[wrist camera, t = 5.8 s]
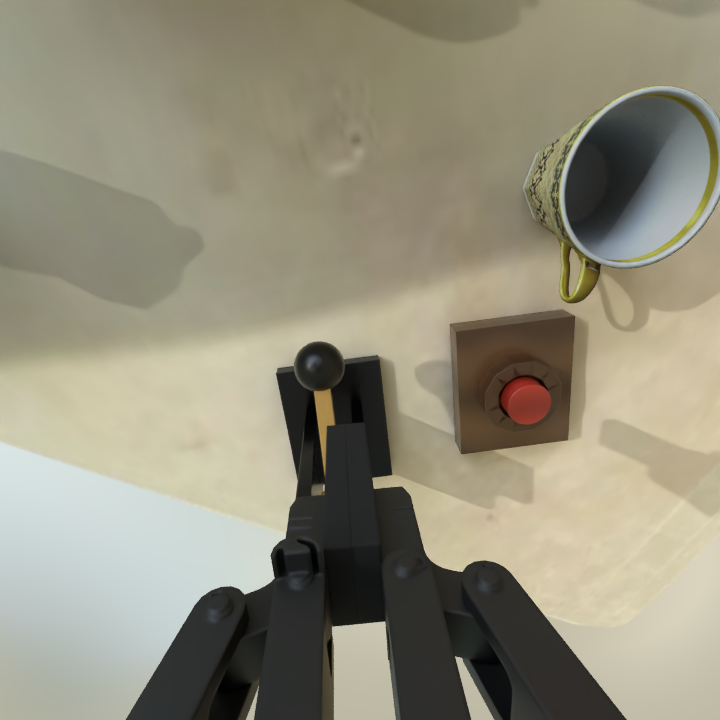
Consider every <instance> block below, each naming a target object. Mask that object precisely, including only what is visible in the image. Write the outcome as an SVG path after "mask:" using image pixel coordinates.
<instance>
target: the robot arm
mask: <svg viewBox="0 0 720 720" xmlns="http://www.w3.org/2000/svg"><path fill="white" fill-rule="evenodd" d="M288 520H289V521H288V526H287V533H286V539H284V540H282V541H280V542H279V543H278V544H277V545H276V546H275V547H274V548H273V551H272V553H271V559H272V565H273V571H274V577H275V579H274V580H273V581H272V582H271V583H269V584H268V585H266V586H265V587H263V588H261V589H259V590H257V591H254V592H251V593H248V594H246V595H244V594H243V593H242V592H241V591H240V590H239V589H237V588H234V587H220V588H217V589H214V590H212V591H210V592H208V593H207V594H206V595H204V596H203V597H201V599H200V600H199V601H198V602H197V603H196V605H195V606H194V608H193V609H192V611H191V613H190V614H189V616H188V618H187V619H186V621H185V623H184V624H183V626H182V628H181V629H180V631H179V633H178V634H177V636H176V638H175V639H174V641H173V642H172V644H171V646H170V647H169V649H168V651H167V652H166V654H165V656H164V658H163V659H162V661H161V663H160V664H159V666H158V667H157V669H156V671H155V672H154V674H153V676H152V677H151V679H150V680H149V682H148V684H147V685H146V687H145V689H144V690H143V692H142V694H141V695H140V697H139V699H138V700H137V702H136V704H135V705H134V707H133V709H132V710H131V712H130V714H129V715H128V717H127V719H126V720H246V718H247V715H248V712H249V710H250V707H251V705H252V702H253V699H254V697H255V694H256V691H257V689H258V686H259V691H258V697H257V703H256V710H255V717H254V720H334V672H333V670H334V664H333V663H334V657H333V655H334V653H333V651H334V645H333V637H332V626H343V625H353V624H363V623H373V622H383V621H385V622H386V634H387V650H388V660H389V663H390V671H391V680H392V688H393V698H394V707H395V715H396V720H471V717H470V713H469V709H468V706H467V702H466V698H465V694H464V690H463V686H462V682H461V678H460V674H459V671H458V667H457V663H456V659H455V656H457V657H461V658H462V659H463V662H464V664H465V666H466V667H467V669H468V671H469V673H470V675H471V677H472V679H473V681H474V683H475V684H476V686H477V688H478V690H479V692H480V694H481V695H482V697H483V699H484V701H485V703H486V705H487V707H488V709H489V710H490V712H491V714H492V716H493V718H494V720H626V718H625V717H624V716H623V715H622V713H621V712H620V711H619V710H618V708H617V707H616V706H615V705H614V703H613V702H612V701H611V699H610V698H609V697H608V696H607V694H606V693H605V692H604V691H603V689H602V688H601V687H600V686H599V684H598V683H597V682H596V680H595V679H594V678H593V677H592V675H590V673H589V672H588V670H587V669H586V668H585V667H584V665H583V664H582V663H581V661H580V660H579V659H578V658H577V656H576V655H575V654H574V653H573V651H572V650H571V649H570V648H569V646H568V645H567V644H566V642H565V641H564V640H563V639H562V637H561V636H560V635H559V634H558V633H557V631H556V630H555V629H554V627H553V626H552V625H551V623H550V622H549V621H548V620H547V618H546V617H545V616H544V615H543V613H542V612H541V611H540V610H539V608H538V607H537V606H536V604H535V603H534V602H533V601H532V599H531V598H530V597H529V596H528V594H527V593H526V592H525V591H524V589H523V588H522V587H521V585H520V584H519V583H518V582H517V580H516V579H515V578H514V577H513V575H512V574H511V573H510V572H509V571H508V570H507V569H506V568H504V567H503V566H501V565H499V564H497V563H495V562H490V561H477V562H473V563H471V564H470V565H468V566H467V567H466V568H465V569H464V571H463V572H458V571H452V570H448V569H444V568H441V567H439V566H437V565H436V564H434V563H433V562H432V561H430V559H429V558H428V557H427V556H426V553H425V551H424V548H423V544H422V540H421V536H420V532H419V528H418V524H417V520H416V517H415V512H414V509H413V504H412V500H411V496H410V495H409V494H408V493H407V491H406V490H405V489H404V488H403V487H391V488H380V489H374V488H373V481H372V473H371V466H370V458H369V451H368V443H367V436H366V428H365V423H353V424H342V425H330V426H327V433H326V465H325V495H315V496H304V497H297V499H296V500H295V501H294V503H293V504H292V506H291V507H290V511H289V519H288Z"/></svg>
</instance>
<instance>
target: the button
mask: <svg viewBox="0 0 720 720" xmlns="http://www.w3.org/2000/svg"><path fill="white" fill-rule="evenodd" d="M501 404H502V406H503V408H504V409H505V411H506V412H507V413H508V415H509V416H510V417H511V418H512V419H513V420H514V421H515V422H517V423H520V424H533V423H536V422H538V421H540V420H541V419H542V418H544V417H545V416H546V414H547V413H548V411H549V409H550V407H551V397H550V394H549V392H548V391H547V390H546V389H545V388H544V387H543V386H542V385H541V384H540V383H539V382H538V381H537V380H535V379H533V378H530V377H520V378H516V379H514V380H512V381H511V382H509V383H508V384H507V385H506V386H505V388H504V389H503V391H502V395H501Z"/></svg>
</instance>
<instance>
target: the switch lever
mask: <svg viewBox="0 0 720 720" xmlns="http://www.w3.org/2000/svg"><path fill="white" fill-rule="evenodd" d="M344 370H345V363H344V359H343V356H342V354H341V353H340V351H339V350H338V349H337V348H336V347H335V346H333V345H331V344H329V343H327V342H320V341H319V342H312V343H309V344H307V345H306V346H304V347H303V348H302V349H301V350H300V351H299V353H298V354H297V356H296V358H295V362H294V371H295V375H296V377H297V379H298V381H299V382H300V383H301V385H303V386H304V387H305V388H307V389H309V390H311V391H314V396H315V404H316V412H317V420H318V428H319V435H320V443H321V451H322V459H323V466H324V474H325V465H326V433H327V426H330V425H336V423H335V415H334V408H333V400H332V392H331V389H332V388H334V387H335V386H336V385H337V384H338V383H339V382H340V381H341V379H342V377H343V375H344ZM321 495H325V491H324V492H321Z"/></svg>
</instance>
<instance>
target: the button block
mask: <svg viewBox="0 0 720 720" xmlns="http://www.w3.org/2000/svg"><path fill="white" fill-rule="evenodd" d="M574 325H575V316H574V315H572V314H570V313H568V312H566V311H565V310H555V311H547V312H540V313H532V314H524V315H517V316H509V317H501V318H494V319H486V320H478V321H471V322H463V323H455V324H450V338H451V358H452V379H453V400H454V421H455V442H456V444H457V446H458V448H459V450H460V452H461V454H467V453H474V452H482V451H489V450H497V449H504V448H512V447H519V446H527V445H534V444H542V443H550V442H557V441H565V440H568V430H569V412H570V395H571V377H572V360H573V342H574ZM520 377H530V378H533V379H535V380H537V381H538V382H539V383H540V384H541V385H542V386H543V387H544V388H545V389H546V390H547V391H548V392H549V394H550V397H551V407H550V409H549V411H548V413H547V414H546V416H545V417H544V418H542V419H541V420H540V421H538V422H536V423H533V424H520V423H517V422H515V421H514V420H513V419H512V418H511V417H510V416H509V415H508V413H507V412H506V411H505V409H504V408H503V406H502V404H501V395H502V391H503V389H504V388H505V386H506V385H507V384H508V383H509V382H511V381H512V380H514V379H516V378H520Z"/></svg>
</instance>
